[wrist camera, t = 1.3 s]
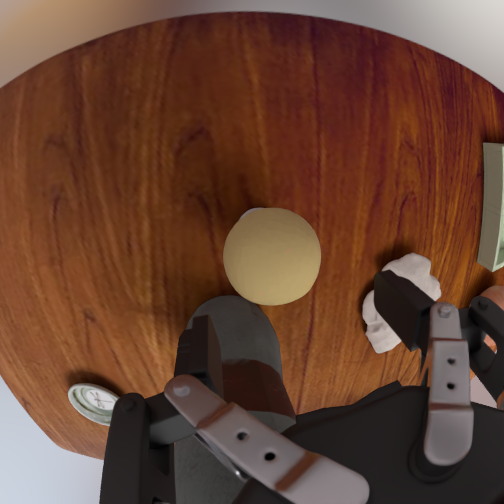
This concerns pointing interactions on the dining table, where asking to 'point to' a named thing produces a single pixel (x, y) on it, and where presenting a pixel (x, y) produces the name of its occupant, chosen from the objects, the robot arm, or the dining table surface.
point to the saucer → (93, 402)
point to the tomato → (498, 295)
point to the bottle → (235, 395)
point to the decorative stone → (416, 272)
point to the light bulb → (271, 256)
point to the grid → (492, 208)
